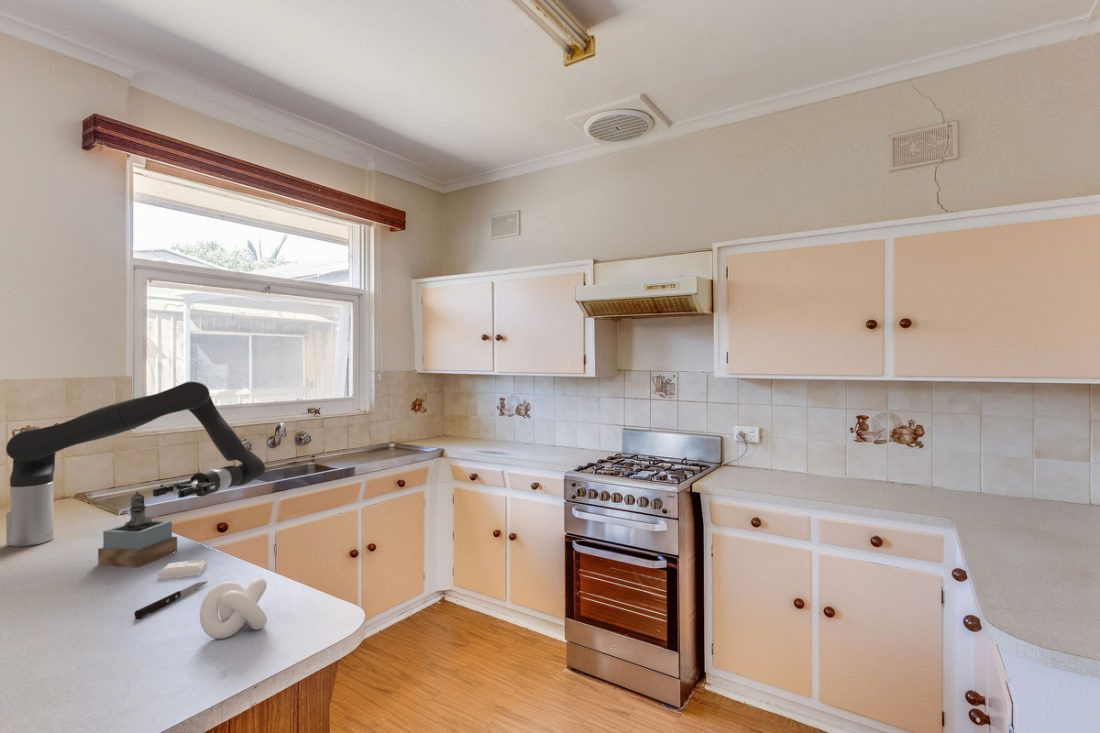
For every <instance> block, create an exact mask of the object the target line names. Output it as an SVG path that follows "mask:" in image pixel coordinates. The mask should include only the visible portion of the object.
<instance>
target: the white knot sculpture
mask: <svg viewBox="0 0 1100 733" xmlns="http://www.w3.org/2000/svg"><path fill="white" fill-rule="evenodd" d="M266 589H267V580H265V579H264V578H262V577H257V578H254V579H253V580H252V581H250V583H249V584H248V586H247V587H246V589H245V588H244V587H243V586H242V585H240V584H239V583H237V582H234V581H224V582H220V583H218V584H217V585H215V586H213V587H212V588H210V590H209V591H208V592H207V593H206V595H205V596H204V598H203V600H202V602H201V605H200V609H199V622H200V626H201V628H202V631H203V632H204V633H205V634H206V635H207V636H209V637H210V638H212V639H215V640H224V639H227V638H230V637H231V636H232V637H233V635H235V634H236V633H237V632H238V631H240V629H241V628H242V627H243V625H244V624H245V623H246V624H248V626H249V627H250V628H251V629H253V630H254V631H255V630H256V631H257V630H258V631H259V630H261V629H263V628H264V627H265V626H266V624H267V622H268V617H267V615H266V613H265V612H264V610H263V609H262V608H261V607H260V606H259V605H258V603H259V601H260V600H261V598H262V596H263V595H264V593H265V591H266Z"/></svg>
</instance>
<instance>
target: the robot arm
mask: <svg viewBox="0 0 1100 733" xmlns="http://www.w3.org/2000/svg"><path fill="white" fill-rule="evenodd" d="M186 410H188V411H189V412H190V413H191V414H192V415H193V416H194V417H195V418H196V419H197V420H198V421H199V423H200V424H201V425H202V427H203V428H204V429H205V432H206V433H207V434H208V436H209V438H210V439H211V441H212V443H213V444H214V446H215V447H216V449H217V451H219V453H220V454H221V456H222V457H223V459H224V460H225V461H227V462H232V461H238V462H239V464H238V465H227V466H223V467H222V466H221V467H217V468H216V467H215V468H212V469H208V470H203V471H200V472H199V471H198V472H196V473H194V474H193V475H192V476H191V478H190V479H185V480H183V481H180V480H175V481H172V482H168V483H163V484H160V485H159V487H156V488H154V489H153V490H152V497H160V496H164V495H169V494H174V495H178V496H177V497H178V498H179V499H180V498H181V499H182V498H186V497H189V496H197V497H205V496H209V495H212V494H215V493H220V492H221V491H223V490H226V489H230V488H233V487H241V486H245V485H247V484H249V483H251V482H252V481H253V482H254V481H255V480H257V479H259V478H261V477H262V476H263V475H264V474H265V471H266V466H265V463H264V462H263V460H262V459H261V458H260V457H259V456H257V455H256V454H255V453H253V452H252V451H251V450H250V449H248V448H247V447H246V446H245V445H244V443H243V442H242V441H241V439H240V437H239V436H238V435H237V433H235V431H234V430H233V429H232V428H231V426H230V425H229V424H228V423H227V421H226V420H225V419H224V417H223V416H222V415H221V413H220V412H219V411H218V409H217V407H216V405H215V403H214V401H213V399H212V397H211V394H210V390H209V389H208V387H207V385H206V384H204V383H203V382H201V381H197V380H188V381H185V382H183V383H181V384H179V385H176V386H174V387H171V388H169V389H167V390H163V391H161V392H158V393H155V394H154V393H153V394H150V395H145V396H141V397H136V398H131V399H127V400H124V401H119V402H117V403H112V404H110V405H109V404H108V405H106V406H103V407H99V408H97V409H94V410H92V411H90V412H86V413H84V414H81V415H79V416H76V417H74V418H72V419H69V420H67V421H64V422H61V423H56V424H54V425H49V426H46V427H40V428H29V429H25V430H23V431H22V430H21V431H20V432H18V433H16V434H14V435H13V436H12V437H11V438H10V439H9V440H8V442H7V444H6V447H5V449H6V450H5V451H6V452H5V453H6V454H7V455H8V457H10V458H11V459H12V469H11V470H12V471H11V474H10V477H9V487H10V488H9V498H10V501H9V503H10V505H9V506H10V507H9V508H10V509H9V510H10V511H8V512H6V513H5V515H6V516H5V519H6V521H5V526H6V527H5V528H6V530H5V531H6V533H5V534H6V536H5V537H6V539H5V540H6V542H5V543H6V547H7V546H11V547H18V548H19V547H28V546H34V545H40V544H44V543H46V542H50V541H51V540H53V539H54V538H55V537H54V534H55V532H54V526H55V524H54V519H55V518H54V517H55V516H54V474H55V470H56V469H55V466H56V453H57V452H59V451H63V450H64V449H67V448H70V447H72V446H76V445H79V444H84V443H89V442H92V441H97V440H101V439H105V438H108V437H112V436H115V435H118V434H122V433H124V432H128V431H130V430H133V429H136V428H138V427H142V426H144V425H146V424H148V423H151V422H153V421H154V420H156V419H158V418H161V417H163V416H167V415H171V414H174V413H178V412H182V411H186Z"/></svg>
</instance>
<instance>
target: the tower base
mask: <svg viewBox="0 0 1100 733" xmlns="http://www.w3.org/2000/svg"><path fill="white" fill-rule="evenodd" d="M97 550H98V551H97V554H98V556H97V559H98V561H97V562H98V563H97V564H98V565H99V566H110V565H111V566H113V567H124V566H127V567H126V568H139V567H142V566H144V565H148V564H149V563H152V562H154V561H157V560H160V559H161V557H162V558H164V556H165V557H167V556H169V554H170V555H172V554H174V553H173V552H175V551H177V552H178V536H172V538H169V539H167V540H164V541H161V542H159V543H156V544H153V545H151V546H148V547H146V548H143V549H140V550H124V549H104V548H103V547H101V548H97ZM171 553H172V554H171ZM175 553H176V552H175ZM166 555H167V556H166ZM159 558H160V559H159Z"/></svg>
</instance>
